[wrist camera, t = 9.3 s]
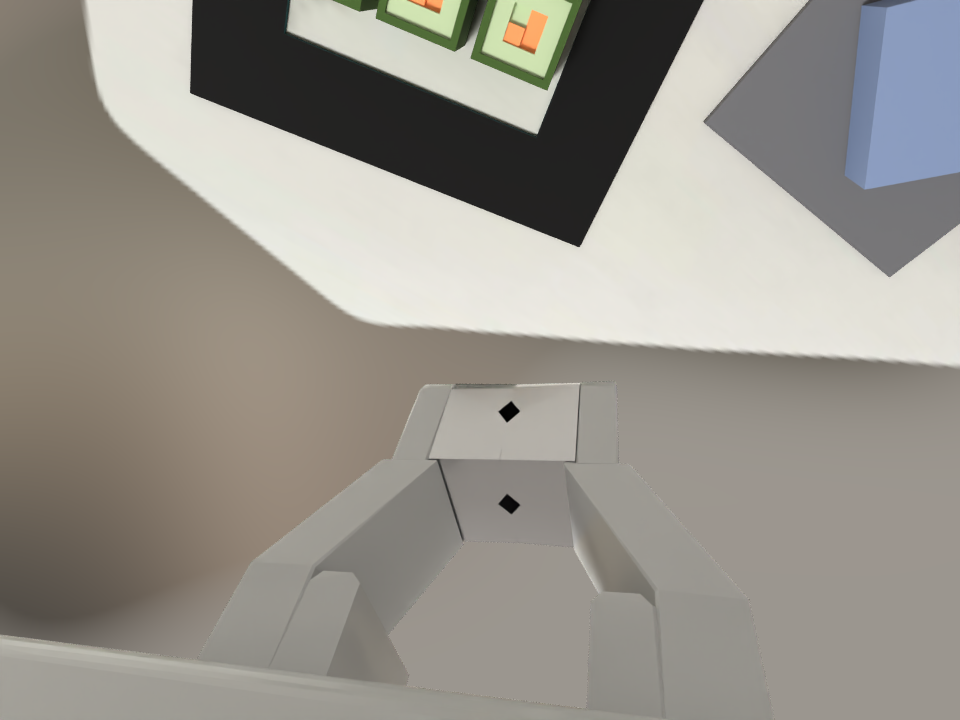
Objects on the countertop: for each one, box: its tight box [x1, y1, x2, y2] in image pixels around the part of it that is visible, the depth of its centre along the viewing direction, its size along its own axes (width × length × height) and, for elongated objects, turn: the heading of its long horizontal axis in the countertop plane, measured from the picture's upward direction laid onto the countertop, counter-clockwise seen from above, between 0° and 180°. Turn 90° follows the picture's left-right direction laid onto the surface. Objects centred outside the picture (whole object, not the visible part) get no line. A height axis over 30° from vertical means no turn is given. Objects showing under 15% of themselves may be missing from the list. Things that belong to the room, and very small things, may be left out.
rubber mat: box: [704, 0, 960, 277], centre depth 27 cm, size 16×15×1 cm
